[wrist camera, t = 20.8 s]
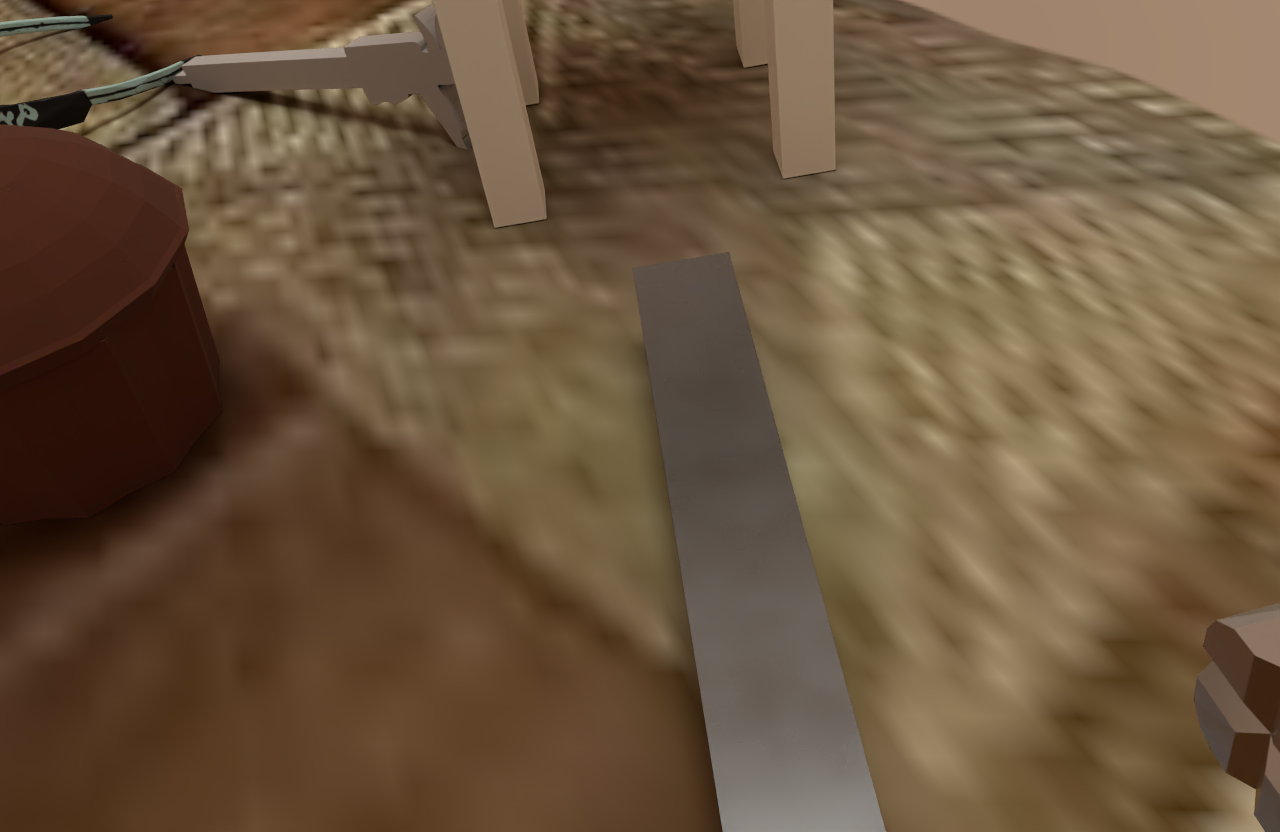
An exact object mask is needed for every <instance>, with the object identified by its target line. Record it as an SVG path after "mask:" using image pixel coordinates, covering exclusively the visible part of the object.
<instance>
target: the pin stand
mask: <svg viewBox="0 0 1280 832" xmlns="http://www.w3.org/2000/svg"><path fill="white" fill-rule="evenodd" d="M433 3H434V7H435V10H436V14H437V18H438V21H439V25H440V29H441V32H442V36H443V40H444V44H445V47H446V51H447V55H448V58H449V62H450V66H451V69H452V73H453V77H454V80H455V84H456V88H457V91H458V95H459V99H460V102H461V106H462V110H463V113H464V117H465V121H466V124H467V128H468V132H469V136H470V139H471V143H472V147H473V150H474V154H475V158H476V161H477V165H478V169H479V172H480V176H481V180H482V183H483V187H484V191H485V194H486V198H487V202H488V205H489V209H490V213H491V216H492V220H493V224H494V228H496V227H502V226H508V225H514V224H520V223H526V222H532V221H537V220H543V219H547V215H546V200H545V189H544V184H543V180H542V175H541V171H540V167H539V162H538V158H537V153H536V149H535V145H534V140H533V136H532V132H531V127H530V123H529V118H528V114H527V110H526V105H531V104H537V103H539V92H538V80H537V75H536V71H535V66H534V61H533V57H532V52H531V47H530V43H529V38H528V34H527V29H526V24H525V20H524V15H523V10H522V6H521V1H520V0H433ZM733 9H734V22H735V34H736V46H737V50H738V53H739V55H740V58H741V61H742V64H743V67H744V68H745V67H751V66H757V65H762V64H768V73H769V90H770V106H771V123H772V140H773V152H774V155H775V158H776V161H777V163H778V166H779V169H780V172H781V175H782V178H783V179H784V178H790V177H796V176H801V175H807V174H813V173H819V172H825V171H831V170H836V158H835V96H834V34H833V0H733Z"/></svg>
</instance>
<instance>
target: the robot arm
mask: <svg viewBox="0 0 1280 832" xmlns="http://www.w3.org/2000/svg"><path fill="white" fill-rule="evenodd" d="M1203 647H1204V648H1205V650H1206V651H1207V653H1208V654H1209V655H1210V657H1211V658H1212V660H1213V661H1212V662H1211V663H1210V664H1209V665H1208V666H1207V667H1206V668H1205V669H1204V670H1203V671H1202V672H1201V673H1200V674H1199V675H1198V676H1197V680H1196V688H1195V695H1194V702H1195V707H1196V711H1197V715H1198V720H1199V724H1200V728H1201V730H1202V732H1203V734H1204V736H1205V738H1206V740H1207V742H1208V745H1209V747H1210V749H1211V750H1212V752H1213V753H1214V755H1215V757H1216V758H1217V760H1218V761H1219V763H1220V764H1221V766H1222V767H1223V769H1224V770H1225V772H1226V773H1227V774H1229V775H1231V776H1233V777H1235V778H1236V779H1238V780H1240V781H1242V782H1244V783H1245V784H1247V785H1249V786H1251V787H1253V788H1254V789H1256V797H1255V810H1254V815H1255V817H1256V818H1257V820H1258V821H1259V823H1260V824H1261V826H1262V827H1263V829H1264V830H1265V832H1280V603H1279V604H1275V605H1271V606H1268V607H1264V608H1260V609H1256V610H1253V611H1249V612H1245V613H1242V614H1238V615H1234V616H1230V617H1227V618H1223V619H1219V620H1216V621H1215V622H1214V623H1213V624H1211V625H1210V626H1209V627H1208V628H1207V631H1206V635H1205V640H1204V644H1203Z"/></svg>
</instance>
